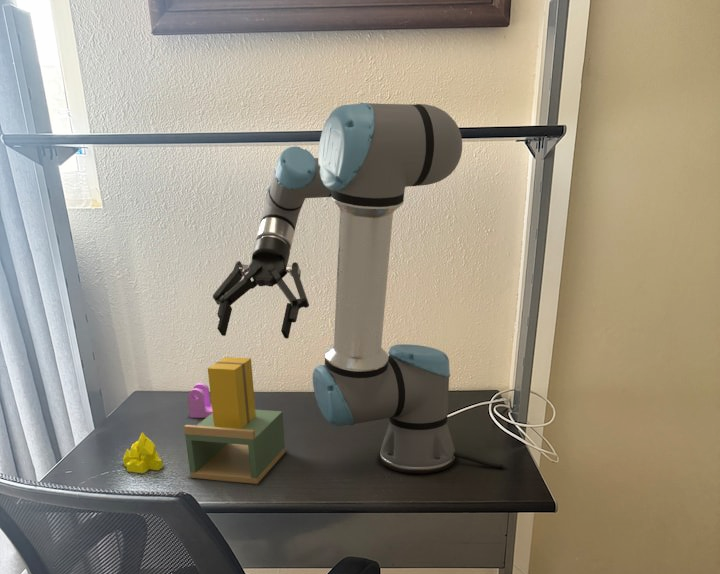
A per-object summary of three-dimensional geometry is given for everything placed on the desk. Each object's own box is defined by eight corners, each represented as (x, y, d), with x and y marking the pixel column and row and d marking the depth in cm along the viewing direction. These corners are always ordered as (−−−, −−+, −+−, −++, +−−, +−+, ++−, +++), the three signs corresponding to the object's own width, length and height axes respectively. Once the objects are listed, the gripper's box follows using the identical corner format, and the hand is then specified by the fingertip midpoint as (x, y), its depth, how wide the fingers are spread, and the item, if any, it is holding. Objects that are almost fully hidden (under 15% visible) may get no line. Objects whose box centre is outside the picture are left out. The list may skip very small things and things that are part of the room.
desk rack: (285, 452, 148) (282, 403, 144) (257, 484, 134) (252, 431, 130) (224, 447, 152) (219, 399, 147) (190, 477, 138) (183, 426, 133)
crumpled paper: (134, 459, 146) (128, 424, 143) (168, 463, 144) (163, 427, 141) (118, 470, 141) (111, 434, 138) (152, 474, 139) (147, 438, 136)
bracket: (190, 417, 169) (186, 389, 166) (196, 409, 174) (193, 382, 171) (243, 417, 168) (241, 389, 165) (248, 409, 173) (245, 382, 170)
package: (256, 416, 142) (251, 358, 137) (240, 430, 135) (235, 369, 130) (230, 414, 143) (224, 356, 138) (214, 428, 136) (207, 368, 131)
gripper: (333, 258, 149) (316, 345, 142) (224, 256, 154) (202, 340, 147) (325, 234, 142) (307, 325, 135) (211, 234, 147) (188, 321, 140)
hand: (252, 333), depth 141 cm, fingers open, 13 cm apart
